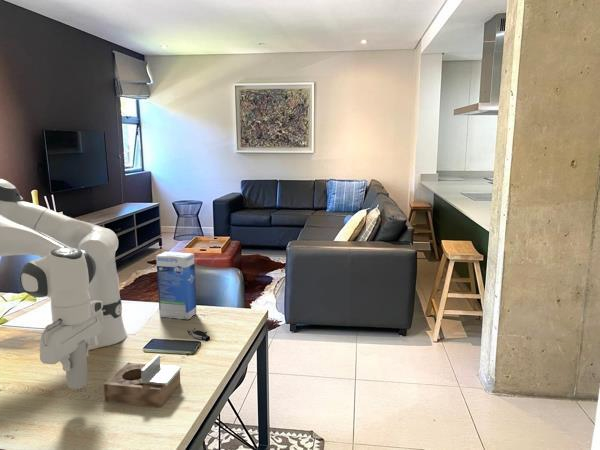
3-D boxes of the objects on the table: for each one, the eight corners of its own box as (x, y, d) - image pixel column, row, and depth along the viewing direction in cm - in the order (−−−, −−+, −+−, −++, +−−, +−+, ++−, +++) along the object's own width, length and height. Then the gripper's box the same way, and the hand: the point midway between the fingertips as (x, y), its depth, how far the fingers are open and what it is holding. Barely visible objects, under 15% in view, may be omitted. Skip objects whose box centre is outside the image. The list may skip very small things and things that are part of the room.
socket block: (105, 401, 117) (103, 383, 117) (129, 378, 129) (128, 362, 128) (161, 407, 115) (160, 389, 114) (180, 383, 127) (179, 367, 126)
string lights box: (197, 314, 180) (195, 253, 176) (188, 321, 173) (186, 257, 168) (168, 311, 183) (165, 251, 179) (158, 317, 176) (155, 255, 171)
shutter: (141, 383, 117) (140, 370, 116) (157, 367, 125) (157, 354, 125) (166, 385, 115) (165, 372, 115) (180, 369, 124) (180, 356, 124)
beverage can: (71, 381, 115) (69, 337, 114) (90, 380, 116) (88, 337, 114) (63, 390, 111) (60, 345, 109) (83, 389, 111) (81, 344, 109)
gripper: (54, 329, 99) (59, 386, 102) (106, 299, 119) (110, 347, 122) (29, 327, 100) (35, 383, 103) (85, 298, 120) (89, 345, 123)
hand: (76, 363), depth 112 cm, fingers closed on beverage can, 5 cm apart
